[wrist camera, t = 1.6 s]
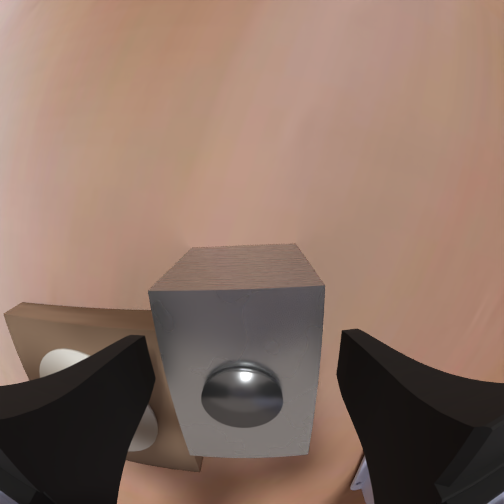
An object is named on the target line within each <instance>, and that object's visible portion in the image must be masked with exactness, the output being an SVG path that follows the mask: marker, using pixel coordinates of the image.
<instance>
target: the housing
mask: <svg viewBox="0 0 504 504" xmlns="http://www.w3.org/2000/svg"><path fill="white" fill-rule="evenodd" d="M148 294H149V300H150V305H151V311H152V316H153V321H154V327H155V331H156V336H157V341H158V346H159V350H160V354H161V359H162V363H163V367H164V371H165V375H166V379H167V383H168V386H169V390H170V394H171V397H172V401H173V404H174V408H175V411H176V414H177V418H178V421H179V424H180V427H181V430H182V433H183V436H184V439H185V442H186V445H187V448H188V451H189V454H190V455H193V456H205V457H224V458H267V457H285V456H297V455H307V454H308V451H309V445H310V439H311V432H312V426H313V419H314V411H315V403H316V395H317V387H318V377H319V368H320V357H321V345H322V332H323V317H324V298H325V285H324V283H323V282H322V280H321V279H320V277H319V276H318V274H317V273H316V272H315V270H314V269H313V267H312V266H311V264H310V263H309V262H308V260H307V259H306V257H305V256H304V254H303V253H302V252H301V250H300V249H299V247H298V246H297V245H296V243H292V244H266V245H241V246H217V247H194V248H191V249H190V250H189V251H188V252H187V253H186V254H185V255H184V256H183V257H182V258H181V259H180V260H179V261H178V262H177V263H176V264H175V265H174V266H173V267H172V268H171V269H169V270H168V271H167V272H166V273H165V274H164V275H163V276H162V277H161V278H160V279H159V280H158V281H157V282H156V283H155V284H154V285H153V286H152V287H151V288H150V289H149V290H148Z"/></svg>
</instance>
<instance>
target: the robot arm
mask: <svg viewBox="0 0 504 504" xmlns="http://www.w3.org/2000/svg"><path fill="white" fill-rule="evenodd" d="M336 375H337V379H338V383H339V387H340V391H341V395H342V398H343V400H344V403H345V405H346V408H347V410H348V413H349V415H350V417H351V420H352V422H353V425H354V427H355V429H356V432H357V434H358V437H359V439H360V442H361V445H362V448H363V451H364V457H363V460H362V462H361V464H360V467H359V469H358V471H357V473H356V475H355V478H354V480H353V482H352V484H351V486H350V488H351V490H358V489H362V493H363V496H364V499H365V503H366V504H504V383H494V382H485V381H479V380H473V379H468V378H464V377H460V376H456V375H452V374H449V373H446V372H443V371H440V370H437V369H434V368H432V367H429V366H427V365H424V364H422V363H420V362H418V361H416V360H414V359H411V358H409V357H407V356H405V355H403V354H402V353H400V352H398V351H396V350H394V349H393V348H391V347H389V346H387V345H386V344H384V343H382V342H381V341H379V340H377V339H375V338H374V337H372V336H370V335H369V334H367V333H365V332H363V331H361V330H359V329H350V330H342V334H341V343H340V352H339V359H338V367H337V374H336ZM155 380H156V377H155V373H154V370H153V366H152V362H151V358H150V355H149V351H148V346H147V342H146V338H145V335H129V336H126V337H124V338H122V339H120V340H118V341H116V342H115V343H113V344H111V345H109V346H107V347H106V348H104V349H102V350H100V351H99V352H97V353H95V354H93V355H91V356H89V357H88V358H86V359H84V360H82V361H80V362H78V363H76V364H74V365H72V366H70V367H67V368H65V369H63V370H60V371H58V372H55V373H53V374H50V375H47V376H44V377H41V378H38V379H34V380H30V381H26V382H23V383H18V384H12V385H6V386H0V504H117V498H118V491H119V486H120V481H121V476H122V472H123V468H124V464H125V460H126V456H127V453H128V449H129V447H130V444H131V441H132V439H133V437H134V435H135V432H136V430H137V428H138V426H139V423H140V421H141V419H142V417H143V414H144V412H145V410H146V408H147V405H148V403H149V401H150V398H151V394H152V391H153V387H154V383H155Z"/></svg>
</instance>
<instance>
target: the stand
mask: <svg viewBox="0 0 504 504" xmlns="http://www.w3.org/2000/svg"><path fill="white" fill-rule="evenodd" d="M4 317H5V320H6V323H7V326H8V329H9V332H10V335H11V338H12V340H13V343H14V346H15V348H16V351H17V353H18V356H19V358H20V360H21V363H22V365H23V367H24V370H25V372H26V374H27V376H28V378H29V380H34V379H38V378H41V377H44V376H47V375H50V374H53V373H55V372H58V371H60V370H63V369H65V368H67V367H70V366H72V365H74V364H76V363H78V362H80V361H82V360H84V359H86V358H88V357H89V356H91V355H93V354H95V353H97V352H99V351H100V350H102V349H104V348H106V347H107V346H109V345H111V344H113V343H115V342H116V341H118V340H120V339H122V338H124V337H126V336H129V335H145V338H146V342H147V346H148V351H149V355H150V358H151V362H152V366H153V370H154V373H155V377H156V380H155V383H154V387H153V391H152V394H151V398H150V401H149V403H148V405H147V408H146V410H145V412H144V414H143V417H142V419H141V421H140V423H139V426H138V428H137V430H136V432H135V435H134V437H133V439H132V441H131V444H130V447H129V449H128V453H127V456H126V460H128V461H132V462H136V463H141V464H146V465H152V466H157V467H163V468H170V469H177V470H185V471H194V472H200V471H201V465H202V459H203V456H193V455H190V454H189V451H188V448H187V445H186V442H185V439H184V436H183V433H182V430H181V427H180V424H179V421H178V418H177V414H176V411H175V408H174V404H173V401H172V397H171V394H170V390H169V386H168V383H167V379H166V375H165V371H164V367H163V363H162V359H161V354H160V350H159V346H158V341H157V336H156V331H155V327H154V321H153V316H152V311H151V310H121V309H100V308H83V307H68V306H56V305H44V304H34V303H25V302H22V303H20V304H19V305H17V306H15V307H14V308H12V309H11V310H9V311H7V312H6V313H4Z"/></svg>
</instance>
